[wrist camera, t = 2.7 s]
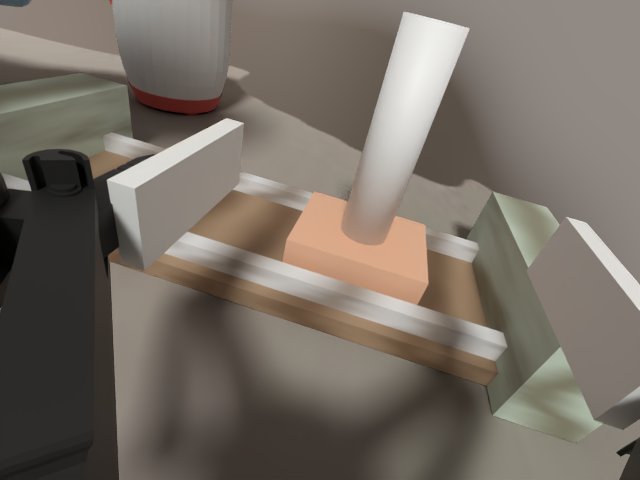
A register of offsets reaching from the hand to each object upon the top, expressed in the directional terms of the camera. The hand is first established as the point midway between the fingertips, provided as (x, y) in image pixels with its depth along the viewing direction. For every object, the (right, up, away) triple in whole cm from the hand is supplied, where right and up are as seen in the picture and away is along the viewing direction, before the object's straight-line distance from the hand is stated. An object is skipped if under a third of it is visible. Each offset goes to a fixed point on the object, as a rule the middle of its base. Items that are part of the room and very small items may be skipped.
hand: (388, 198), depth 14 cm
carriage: (0, -3, +14) cm, 14 cm away
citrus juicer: (-26, +20, +40) cm, 52 cm away
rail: (-8, -2, +15) cm, 17 cm away
